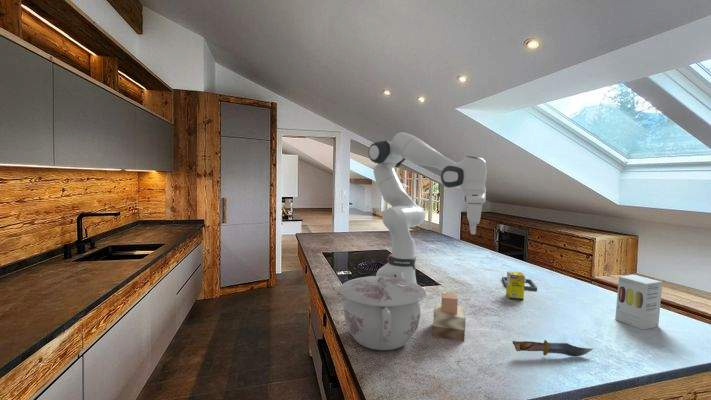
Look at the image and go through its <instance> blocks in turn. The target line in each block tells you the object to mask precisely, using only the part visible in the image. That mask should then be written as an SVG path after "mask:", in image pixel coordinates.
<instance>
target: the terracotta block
mask: <svg viewBox="0 0 711 400" xmlns="http://www.w3.org/2000/svg"><path fill="white" fill-rule="evenodd" d="M458 302H459V301H458V294H457V293H451V292H450V293H449V292H441V304H442V305H441V309H442V312H443V313H453V314H457V306H458Z"/></svg>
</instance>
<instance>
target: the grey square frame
mask: <svg viewBox="0 0 711 400" xmlns="http://www.w3.org/2000/svg"><path fill="white" fill-rule="evenodd" d="M501 281H502V283H503V285H504V286H505V287H504V288H506V287H507V276H502V277H501ZM525 283H529V284H530V285H531V286H529V285H527V286H524V291H525V290H526V291H538V287H537V285H536V284H535V283H534V281H533V280H532V279H531V278H526V282H525Z"/></svg>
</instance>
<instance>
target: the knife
mask: <svg viewBox="0 0 711 400" xmlns="http://www.w3.org/2000/svg"><path fill="white" fill-rule="evenodd" d="M511 342H512V344H513V347H514V348H515V349H514V350H515V352H521V351H522V352H542V355H543V356H547V355H548V354H561V355H565V356H569V357H574V358H575V357H581V356H584V355H587V354H588V353H590V352H591V351H592V350H593V348H588V347H580V346H575V345H572V344H570V343H568V342H548V341H547V340H546V339H544V340H543V342H539V341H526V340H523V341H516V340H512V341H511Z"/></svg>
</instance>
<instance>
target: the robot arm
mask: <svg viewBox="0 0 711 400" xmlns="http://www.w3.org/2000/svg"><path fill="white" fill-rule="evenodd" d="M368 157H369V160H370V161H371V162H373V163H375V164H376V165H375V166H373V167H374V168H373V175H374V179H375V182H376V186H377V188H378V189H379V192H380V194H381V196H382V199H383V200H384V202H385V203H387V204H388V205H390V206H391V207H389V208H386V209H385V210H384V211H383V213H382V223H383V225H384V226H385V227H386V229H388V232H389V234H390V237H391V254H389V255H388V256H387V263H385V264H384V265H383V266H381V267H380V268H379V269H378V270H377V272H376V275H375V276H387V277H395V278H401V279H405V280H408V281H412V282H414V283H416V284H418V283H417V282H418V281H417V278H416V277H417V276H416V265H417V260H416V240H415V239H414V238H413V237H412V236H411V232H410V228H414V227H417V226H419V225H421V224H422V223H424V222H425V219H426V213H425V210H424V209H423V207H421V206H419V204H417V203H416V202H415V201H414V200H413V199H412V198H411V196H409V194H408V193H407V192H406V190H405V188H404V187H403V185H402V182H401V181H400V178H399V176H398V175H397V172H396V168H399V167H401V165H402V164H403V163H404V162H405V160H406V161H408V162H409V163H411V164H414V165H417V166H424V167H431V168H435V169H438V170H440V171H441V173H440V181H441V184H442V185H443V186H444V187H445V188H448V189H461V191H462V193H461V202H463V203H464V205H465V206H466V207H467V209H466V211H467V212H466V217H467V220H468V222H469V223H468V225H469V231H470V234H471V235H476V234H477V225H479V224H480V221H481V217H482V216H481V215H482V209H483V204H485V203H486V201H487V200H486V199H487V198H486V197H487V188H486V181H487V175H488V174H487V173H488V171H487V162H486V160H485V159H484V158H483V157H479V156H471V155H470V156H469V155H467V156H465V157H464V158H462V160H460V161H458V162H457V161H455V160H453V159H452V158H450V157H448V156H445V155H444V154H442V153H441V152H439V151H438V150H436V149H434V148H433V147H432V146H430V145H429V144H427V142H424V141H423V140H422V139H420V138H418V137H417V136H415V135H413V134H410V133H408V132H404V131H401V132H398V133H396V134H395V135H394V136H393V139H392V140H391V141H388V140H381V141H375V142H373V143H371V144H370V146H369V148H368Z"/></svg>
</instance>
